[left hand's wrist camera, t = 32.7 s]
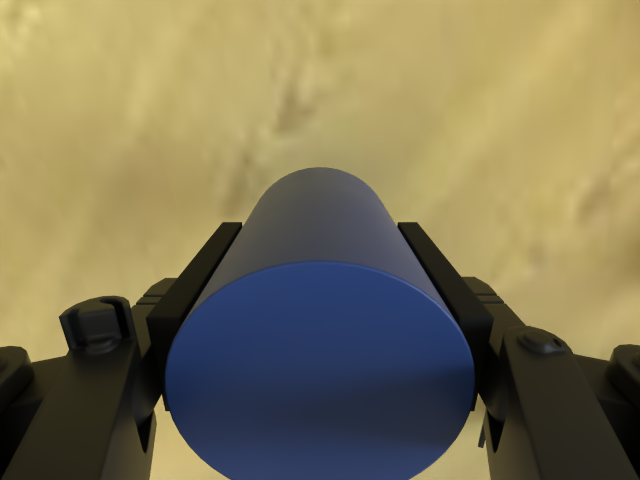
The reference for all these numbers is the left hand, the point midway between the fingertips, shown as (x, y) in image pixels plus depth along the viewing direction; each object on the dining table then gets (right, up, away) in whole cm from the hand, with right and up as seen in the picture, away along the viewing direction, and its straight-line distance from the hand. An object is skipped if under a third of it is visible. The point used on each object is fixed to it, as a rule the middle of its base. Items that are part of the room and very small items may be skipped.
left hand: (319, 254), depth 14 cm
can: (0, +1, +1) cm, 1 cm away
